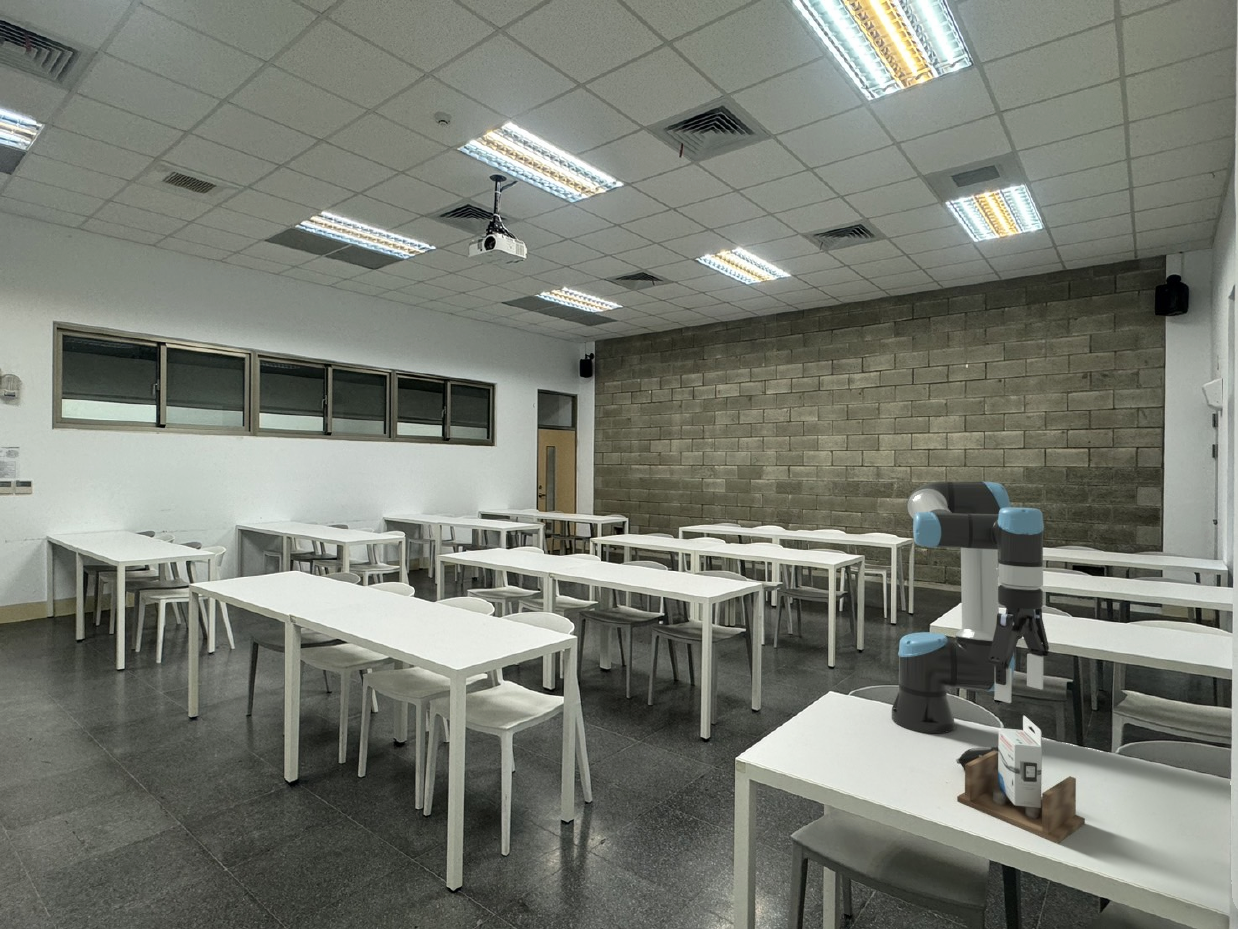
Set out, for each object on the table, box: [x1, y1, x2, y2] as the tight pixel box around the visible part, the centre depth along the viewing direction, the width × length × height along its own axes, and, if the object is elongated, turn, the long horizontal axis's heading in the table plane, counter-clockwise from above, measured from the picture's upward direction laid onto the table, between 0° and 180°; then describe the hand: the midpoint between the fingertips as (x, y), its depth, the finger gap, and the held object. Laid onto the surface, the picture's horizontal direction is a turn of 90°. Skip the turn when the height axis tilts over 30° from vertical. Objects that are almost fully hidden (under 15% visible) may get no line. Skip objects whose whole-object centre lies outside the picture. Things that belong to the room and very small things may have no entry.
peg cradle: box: [956, 750, 1086, 844], centre depth 127 cm, size 12×18×8 cm, turn 35°
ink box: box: [997, 715, 1043, 808], centre depth 127 cm, size 9×5×15 cm, turn 169°
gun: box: [955, 746, 999, 771], centre depth 139 cm, size 3×16×10 cm
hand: (1019, 694), depth 127 cm, fingers open, 13 cm apart
